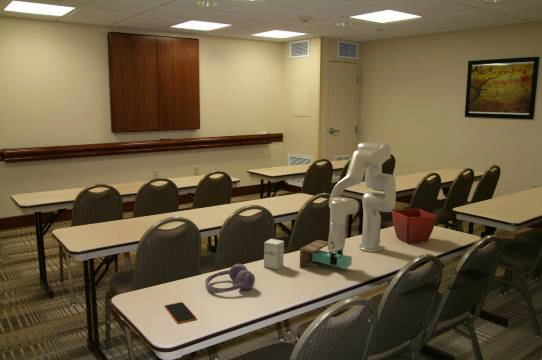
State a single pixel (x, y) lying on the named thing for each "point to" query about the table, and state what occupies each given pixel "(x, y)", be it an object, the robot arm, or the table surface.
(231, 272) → the headphones
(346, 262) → the teal flat plank
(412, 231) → the plant pot
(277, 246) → the supplement box
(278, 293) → the table surface
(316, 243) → the overhang shelf
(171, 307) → the smartphone
